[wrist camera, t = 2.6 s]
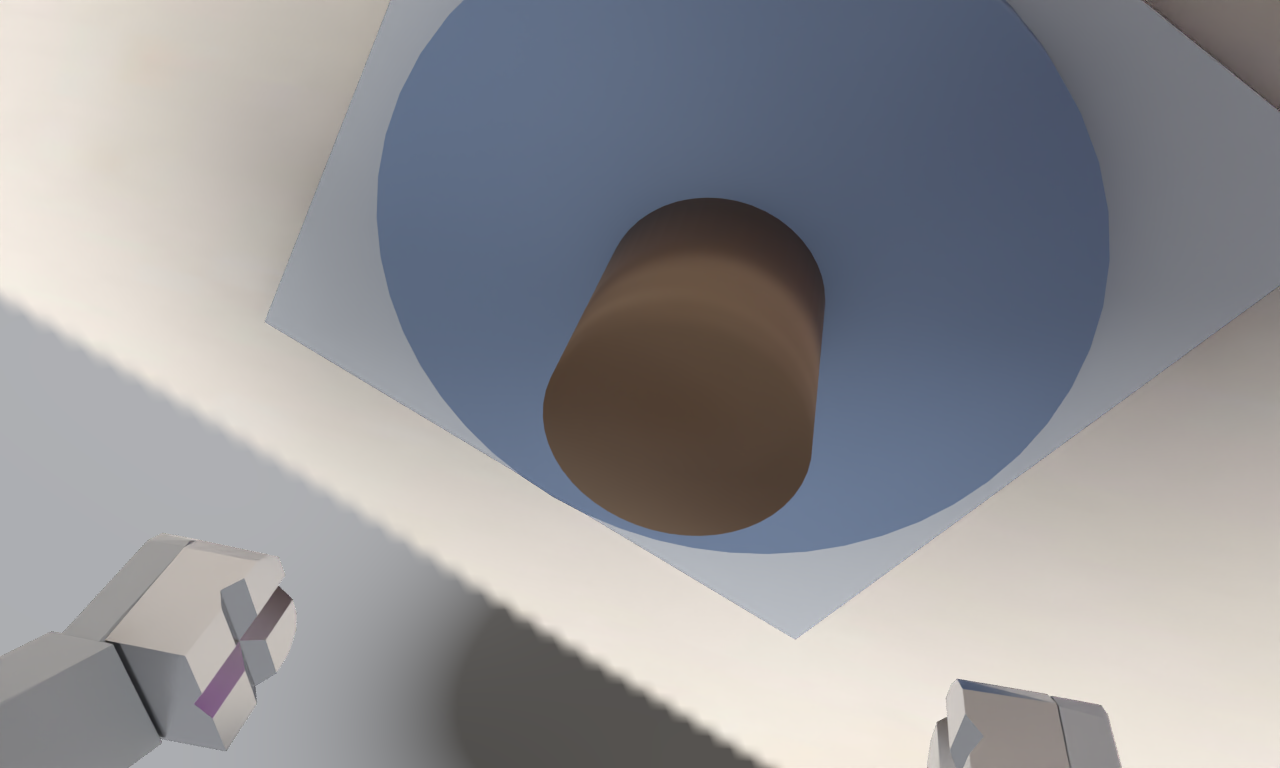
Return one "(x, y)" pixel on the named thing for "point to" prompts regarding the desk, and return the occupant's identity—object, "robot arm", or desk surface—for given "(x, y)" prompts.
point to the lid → (745, 254)
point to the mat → (1135, 290)
